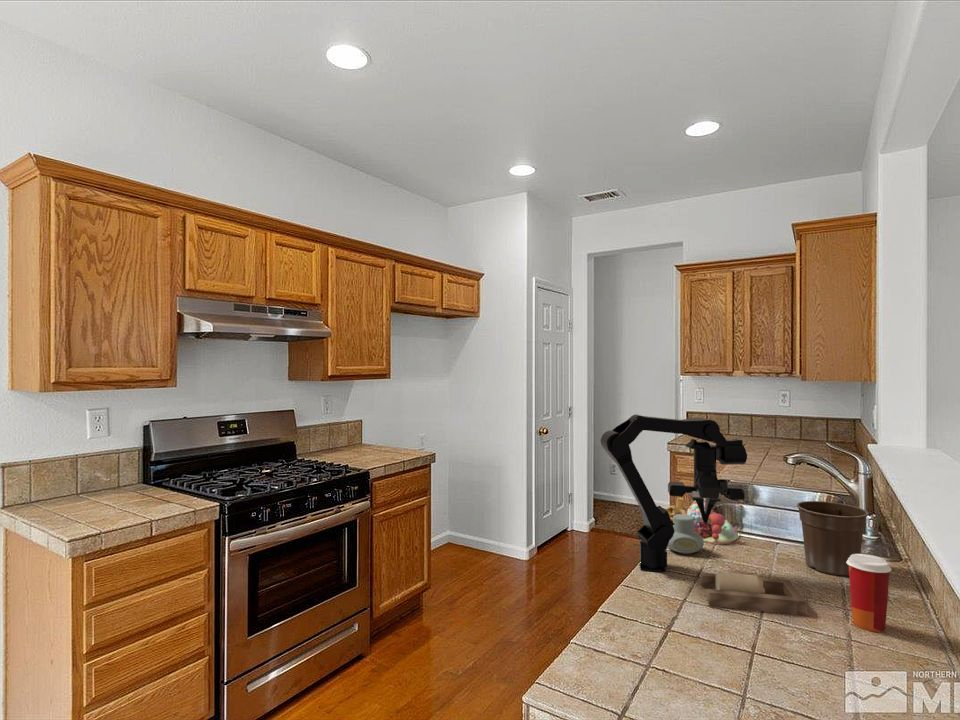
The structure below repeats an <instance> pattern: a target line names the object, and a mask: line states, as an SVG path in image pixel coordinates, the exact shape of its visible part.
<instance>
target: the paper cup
mask: <svg viewBox="0 0 960 720" xmlns="http://www.w3.org/2000/svg"><path fill="white" fill-rule="evenodd" d="M846 563H847V564H848V565H849V575H848V576H849V589H850V590H849V591H850V593H849V594H850V605H851V607H850V609H851V617H852V619H851V620H852V624H853V625H854V626H855V627H857V628H859V629H862V630H864V631H868V632H872V633H873V632H874V633H883V632H885V630H886V623H887V610H888V600H889V584H890V583H889V582H890V572H892V568H891V566H890V564H889V562H887V560H885V559H884V558H882V557H880V556H876V555H872V554H865V553H861V554H852V555H850V557H849V558H848V560H847V562H846Z"/></svg>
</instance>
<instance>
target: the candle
mask: <svg viewBox="0 0 960 720" xmlns="http://www.w3.org/2000/svg"><path fill="white" fill-rule="evenodd" d="M715 574H716V578H715V582H716V589H715V590H724V591H735V592H746V593H757V594H765V589H764V588H763V581H761V580H760V579H759V578H760V577H759V578H758V576H757V575H756V574H746V573H745V574H743V573H732V572H720V571H717V572H716V573H715Z"/></svg>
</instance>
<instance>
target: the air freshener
mask: <svg viewBox="0 0 960 720" xmlns="http://www.w3.org/2000/svg"><path fill="white" fill-rule="evenodd" d="M673 523H674V524H675V525H673V527H674V531H675V532H674V535H673V537H672V538H671V539H670V541H669V543H668V546H667V548H669V549H670V550H672V551H673V552H676V553H679V554H682V555H690V554H693V553H694V554H695V553H697V552H699V551H701V550H702V549H703V547H704V545H705V543H704V541H703V538H702V537H701V535H700V534H698V533H697V532H696V531H694V518H693V517H692V516H690V515H686V514H676V515H674V516H673Z"/></svg>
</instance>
